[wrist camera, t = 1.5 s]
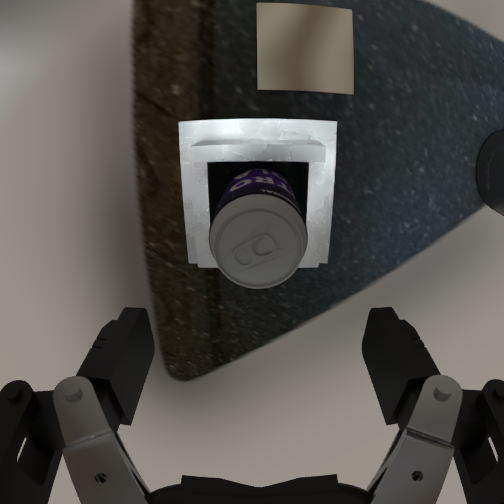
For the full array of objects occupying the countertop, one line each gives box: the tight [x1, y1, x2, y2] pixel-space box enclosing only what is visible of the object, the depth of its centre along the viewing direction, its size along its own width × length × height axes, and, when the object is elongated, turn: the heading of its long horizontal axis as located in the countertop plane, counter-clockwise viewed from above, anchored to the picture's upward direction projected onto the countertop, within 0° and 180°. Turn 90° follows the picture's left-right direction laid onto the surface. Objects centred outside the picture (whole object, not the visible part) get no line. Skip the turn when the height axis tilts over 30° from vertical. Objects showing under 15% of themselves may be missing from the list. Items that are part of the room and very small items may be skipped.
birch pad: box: [257, 3, 354, 95], centre depth 22 cm, size 8×8×1 cm
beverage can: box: [209, 162, 308, 289], centre depth 23 cm, size 6×6×12 cm
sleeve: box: [179, 119, 337, 268], centre depth 26 cm, size 13×13×5 cm
